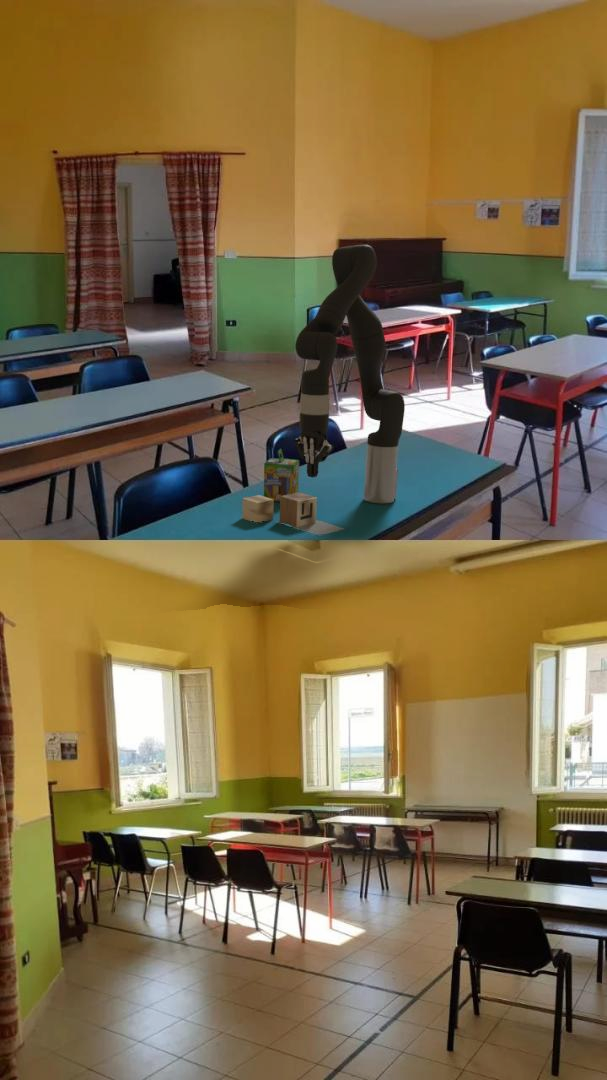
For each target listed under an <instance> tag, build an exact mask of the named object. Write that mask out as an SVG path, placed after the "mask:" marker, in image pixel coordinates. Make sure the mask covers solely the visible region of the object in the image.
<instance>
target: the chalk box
mask: <svg viewBox="0 0 607 1080" xmlns="http://www.w3.org/2000/svg"><path fill="white" fill-rule="evenodd" d="M277 457H278V458H276V457H271V458H269V459H268V460H266V461H265V462H264V465H263V468H264V469H263V474H264V475H263V479H264V480H263V481H264V482H263V483H264V484H263V496H264V497H267V498H270V499H274V502H280V496H283V495H288V494H293V493H298V492H299V486H300V485H299V482H300V479H299V477H300V460H299V459H290V458H284V455H283V450H282V448H280V449H279V450H278V451H277Z"/></svg>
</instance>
